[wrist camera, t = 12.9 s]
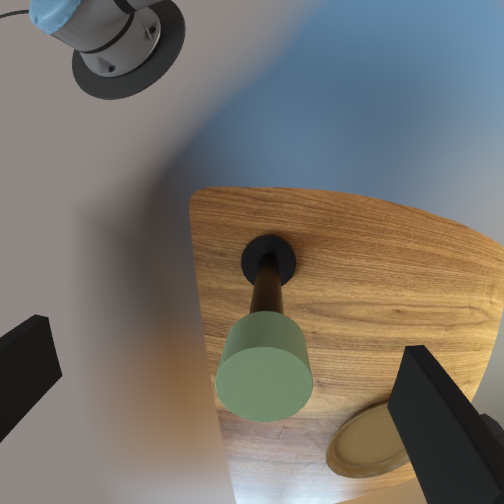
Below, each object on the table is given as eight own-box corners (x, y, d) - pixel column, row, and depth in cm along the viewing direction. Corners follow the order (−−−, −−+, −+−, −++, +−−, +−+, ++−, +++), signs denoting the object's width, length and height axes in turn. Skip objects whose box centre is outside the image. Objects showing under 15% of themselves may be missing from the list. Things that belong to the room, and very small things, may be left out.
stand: (230, 259, 47) (186, 340, 22) (270, 223, 46) (269, 270, 20) (266, 297, 48) (260, 406, 23) (306, 263, 47) (342, 349, 21)
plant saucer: (443, 426, 53) (449, 435, 49) (357, 480, 57) (360, 490, 54) (403, 370, 50) (409, 380, 47) (300, 437, 54) (301, 449, 51)
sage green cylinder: (210, 342, 22) (195, 382, 17) (269, 294, 21) (268, 327, 16) (262, 390, 22) (260, 434, 18) (321, 348, 21) (332, 389, 17)
